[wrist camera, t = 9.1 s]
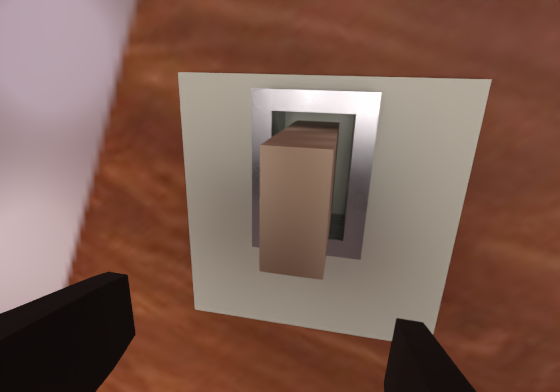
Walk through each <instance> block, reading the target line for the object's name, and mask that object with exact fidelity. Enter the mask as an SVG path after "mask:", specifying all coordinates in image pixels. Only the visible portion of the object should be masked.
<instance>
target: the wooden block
mask: <svg viewBox="0 0 560 392" xmlns="http://www.w3.org/2000/svg"><path fill="white" fill-rule="evenodd" d="M339 124H340V122H323V121H302V120H297V121H295V122H294V123H292V124H291V125H289V126H288V127H286V128H285V129H283V130H282V131H280V132H279V133H277V134H276V135H274V136H273V137H271V138H270V139H268V140H267V141H265V142H264V143H262V144H261V145H260V237H259V271H260V272H267V273H274V274H282V275H289V276H297V277H304V278H312V279H319V280H323V276H324V268H325V260H326V252H327V244H328V236H329V228H330V220H331V213H332V205H333V194H334V182H335V171H336V159H337V147H338V136H339Z"/></svg>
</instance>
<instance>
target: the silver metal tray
mask: <svg viewBox="0 0 560 392" xmlns="http://www.w3.org/2000/svg"><path fill="white" fill-rule="evenodd" d="M380 100H381V92H377V91H352V90H320V89H288V88H252V247H259V237H260V145H261V144H262V143H264V142H265V141H267V140H268V139H270V138H271V137H273V136H274V135H276V134H277V133H279V132H280V131H282V130H283V129H285V111H292V112H315V113H337V114H354V120H353V130H352V139H351V149H350V159H349V169H348V179H347V189H346V199H345V209H344V214H333V213H331V220H330V228H329V236H328V244H327V252H326V256H333V257H342V258H350V259H358V260H361V252H362V244H363V236H364V228H365V220H366V212H367V204H368V196H369V188H370V180H371V172H372V164H373V156H374V148H375V140H376V132H377V124H378V116H379V108H380Z"/></svg>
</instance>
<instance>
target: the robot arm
mask: <svg viewBox="0 0 560 392" xmlns="http://www.w3.org/2000/svg"><path fill="white" fill-rule="evenodd" d="M134 336H135V327H134V319H133V312H132V304H131V297H130V289H129V282H128V275H126V274H120V273H113V272H106V273H103V274H100V275H97V276H94V277H91V278H88V279H86V280H83V281H81V282H78V283H75V284H73V285H70V286H68V287H66V288H63V289H61V290H58V291H56V292H53V293H51V294H48V295H46V296H43V297H41V298H39V299H36V300H34V301H32V302H29V303H26V304H24V305H21V306H19V307H16V308H14V309H12V310H9V311H6V312H4V313H1V314H0V392H96V390H97V389H98V388H99V387H100V385H101V384H102V383H103V382H104V380H105V379H106V378H107V377H108V375H109V374H110V373H111V371H112V370H113V369H114V367H115V366H116V364H117V363H118V361H119V360H120V358H121V357H122V355H123V354H124V352H125V350H126V349H127V347H128V346H129V344H130V342H131V341H132V339H133V337H134ZM384 392H476V391H475V389H474V388H473V387H472V386H471V384H470V383H469V382H468V380H467V379H466V378H465V377H464V375H463V374H462V373H461V371H460V370H459V369H458V368H457V366H456V365H455V364H454V362H453V361H452V360H451V358H450V357H449V356H448V354H447V353H446V352H445V350H444V349H443V348H442V346H441V345H440V344H439V342H438V341H437V340H436V338H435V337H434V336H433V334H432V333H431V332H430V330H429V329H428V328H427V326H426V325H425V324H424V323H423V322H419V321H413V320H406V319H400V318H396V322H395V327H394V333H393V338H392V343H391V348H390V354H389V359H388V364H387V369H386V374H385V380H384Z"/></svg>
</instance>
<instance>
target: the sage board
mask: <svg viewBox="0 0 560 392" xmlns="http://www.w3.org/2000/svg"><path fill="white" fill-rule="evenodd" d="M178 80H179V94H180V108H181V122H182V135H183V149H184V163H185V177H186V191H187V205H188V219H189V233H190V247H191V261H192V275H193V289H194V303H195V309H196V310H202V311H208V312H214V313H221V314H227V315H233V316H239V317H245V318H251V319H258V320H264V321H270V322H276V323H282V324H288V325H295V326H301V327H307V328H313V329H319V330H325V331H331V332H338V333H344V334H350V335H356V336H362V337H368V338H375V339H381V340H387V341H392V338H393V333H394V327H395V322H396V318H400V319H406V320H413V321H419V322H423V323H424V324H425V325H426V326H427V328H428V329H429V330H430V332H431V333H432V334H434V329H435V325H436V321H437V316H438V312H439V307H440V303H441V299H442V294H443V290H444V286H445V281H446V277H447V273H448V268H449V264H450V259H451V255H452V251H453V246H454V242H455V238H456V233H457V229H458V225H459V220H460V216H461V211H462V207H463V203H464V198H465V194H466V190H467V185H468V181H469V177H470V172H471V168H472V164H473V159H474V155H475V150H476V146H477V142H478V137H479V133H480V129H481V124H482V120H483V116H484V111H485V107H486V102H487V98H488V94H489V89H490V85H491V81H492V80H491V79H449V78H406V77H364V76H321V75H279V74H236V73H194V72H178ZM252 88H288V89H320V90H352V91H377V92H381V100H380V108H379V116H378V124H377V132H376V140H375V148H374V156H373V164H372V172H371V180H370V188H369V196H368V204H367V212H366V220H365V228H364V236H363V244H362V252H361V260H358V259H350V258H342V257H333V256H326V260H325V268H324V276H323V280H319V279H312V278H304V277H297V276H289V275H282V274H274V273H267V272H260V271H259V247H252ZM297 120H302V121H323V122H340V124H339V136H338V147H337V159H336V171H335V182H334V194H333V205H332V213H333V214H344V209H345V199H346V189H347V179H348V169H349V159H350V149H351V139H352V130H353V120H354V114H337V113H315V112H292V111H285V128H286V127H288V126H289V125H291V124H292V123H294V122H295V121H297Z"/></svg>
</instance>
